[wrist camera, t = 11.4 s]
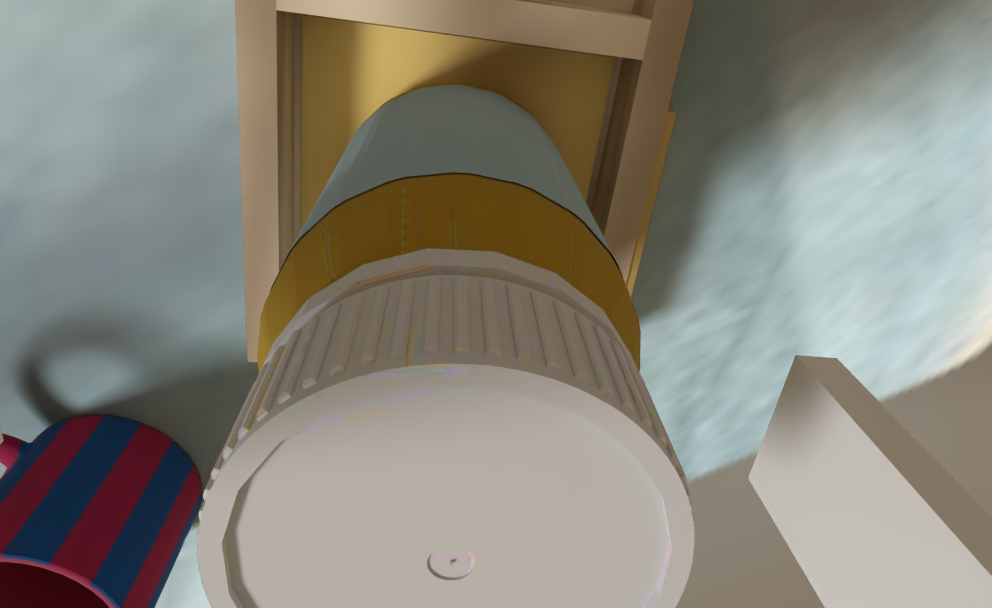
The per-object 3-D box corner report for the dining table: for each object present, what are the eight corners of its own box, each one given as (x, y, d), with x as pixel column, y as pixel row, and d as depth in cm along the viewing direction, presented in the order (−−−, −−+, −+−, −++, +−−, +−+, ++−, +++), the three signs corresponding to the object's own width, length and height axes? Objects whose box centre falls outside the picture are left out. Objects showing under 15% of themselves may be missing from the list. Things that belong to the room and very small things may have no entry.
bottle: (605, 153, 21) (852, 483, 8) (490, 324, 24) (535, 787, 11) (407, 30, 20) (306, 200, 6) (305, 230, 22) (78, 653, 9)
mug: (126, 565, 30) (42, 723, 24) (-89, 417, 26) (-256, 561, 20) (238, 491, 28) (179, 639, 22) (28, 321, 24) (-114, 445, 18)
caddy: (269, 316, 24) (247, 361, 22) (254, -589, 15) (210, -709, 12) (592, 345, 26) (608, 391, 23) (778, -470, 16) (843, -554, 13)
